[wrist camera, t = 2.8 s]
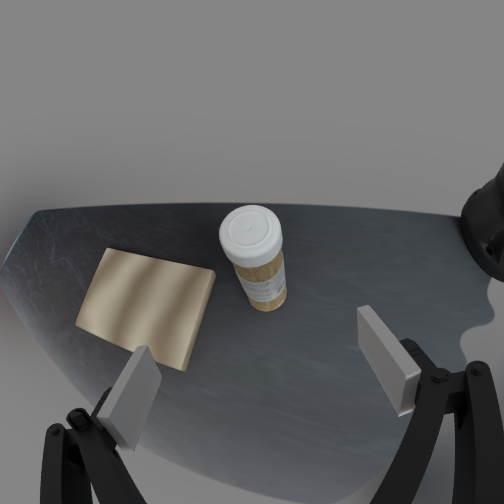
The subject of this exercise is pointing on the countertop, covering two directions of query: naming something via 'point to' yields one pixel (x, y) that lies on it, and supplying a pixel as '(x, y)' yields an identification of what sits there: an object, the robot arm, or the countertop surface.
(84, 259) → the countertop surface
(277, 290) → the sprinkles bottle
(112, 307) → the birch board
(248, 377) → the countertop surface
